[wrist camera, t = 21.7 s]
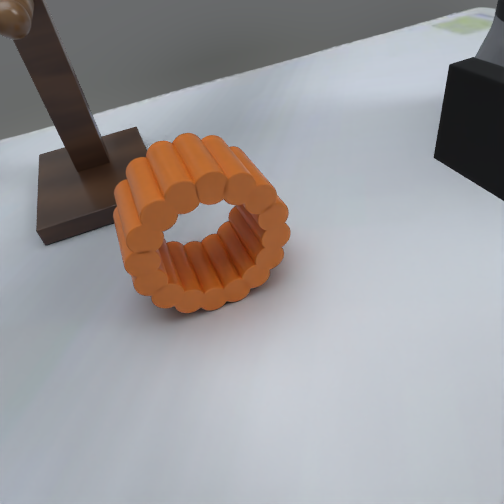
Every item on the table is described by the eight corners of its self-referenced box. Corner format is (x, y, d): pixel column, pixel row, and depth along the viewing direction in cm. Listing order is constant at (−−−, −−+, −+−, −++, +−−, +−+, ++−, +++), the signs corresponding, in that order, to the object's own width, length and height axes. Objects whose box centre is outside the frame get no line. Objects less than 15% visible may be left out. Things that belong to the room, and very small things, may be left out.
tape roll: (255, 249, 29) (263, 124, 24) (283, 293, 26) (300, 159, 20) (124, 276, 27) (98, 141, 21) (136, 329, 23) (108, 185, 17)
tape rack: (46, 167, 42) (-70, -47, 30) (141, 139, 44) (67, -74, 32) (45, 257, 31) (-140, -29, 19) (173, 214, 33) (77, -72, 21)
